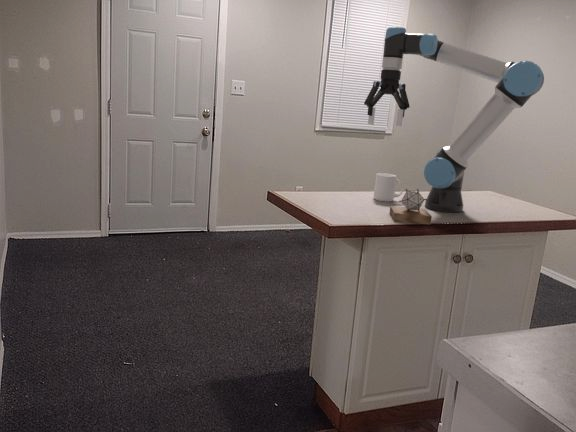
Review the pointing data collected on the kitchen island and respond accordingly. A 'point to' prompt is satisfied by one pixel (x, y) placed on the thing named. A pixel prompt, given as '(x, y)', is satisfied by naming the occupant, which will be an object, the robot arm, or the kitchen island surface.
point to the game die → (412, 200)
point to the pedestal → (410, 215)
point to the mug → (386, 187)
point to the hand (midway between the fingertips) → (384, 125)
